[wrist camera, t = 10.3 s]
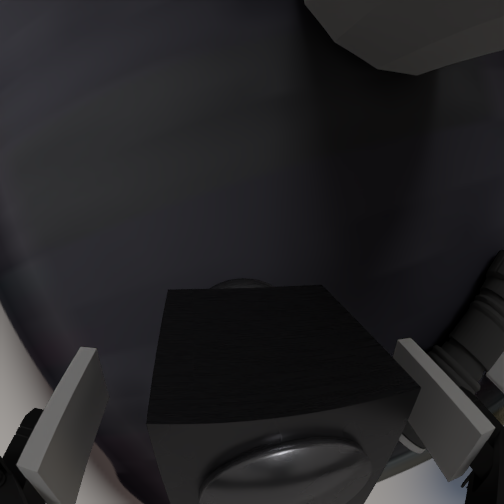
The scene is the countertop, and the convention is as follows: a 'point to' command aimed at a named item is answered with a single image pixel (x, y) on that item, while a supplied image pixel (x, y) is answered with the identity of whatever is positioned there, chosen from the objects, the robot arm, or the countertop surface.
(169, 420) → the speaker cube
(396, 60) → the jar
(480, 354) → the flashlight
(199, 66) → the countertop surface
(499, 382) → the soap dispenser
